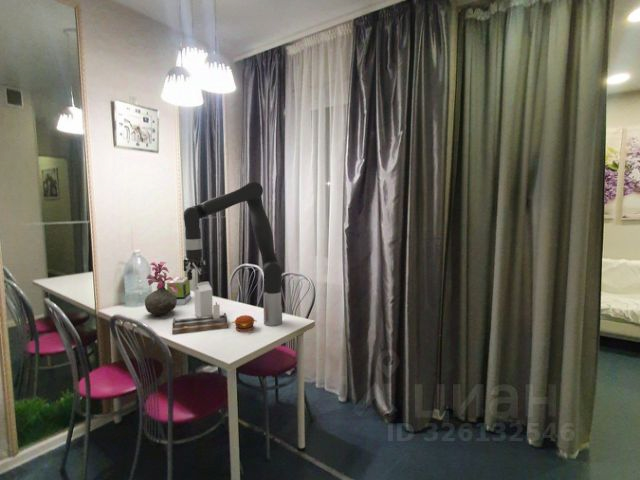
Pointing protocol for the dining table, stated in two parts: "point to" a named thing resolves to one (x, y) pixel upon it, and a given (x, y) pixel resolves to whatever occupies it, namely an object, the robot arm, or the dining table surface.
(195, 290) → the milk carton
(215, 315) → the fader tab
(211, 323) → the fader console
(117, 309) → the dining table surface
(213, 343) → the dining table surface
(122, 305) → the dining table surface
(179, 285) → the tea box
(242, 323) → the hamburger
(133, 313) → the dining table surface
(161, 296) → the vase
